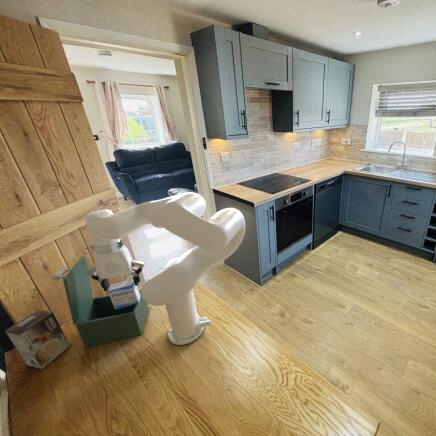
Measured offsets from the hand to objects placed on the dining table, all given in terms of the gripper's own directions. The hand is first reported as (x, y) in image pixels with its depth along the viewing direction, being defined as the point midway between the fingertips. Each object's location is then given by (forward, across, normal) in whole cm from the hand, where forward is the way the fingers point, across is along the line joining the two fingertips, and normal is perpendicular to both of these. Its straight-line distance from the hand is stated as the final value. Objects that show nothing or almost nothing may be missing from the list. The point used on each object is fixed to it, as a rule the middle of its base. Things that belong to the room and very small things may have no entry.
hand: (122, 286), depth 87 cm
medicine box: (+8, 0, 0) cm, 8 cm away
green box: (+19, -5, 0) cm, 19 cm away
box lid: (-2, -12, 0) cm, 12 cm away
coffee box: (+19, -24, -7) cm, 31 cm away
